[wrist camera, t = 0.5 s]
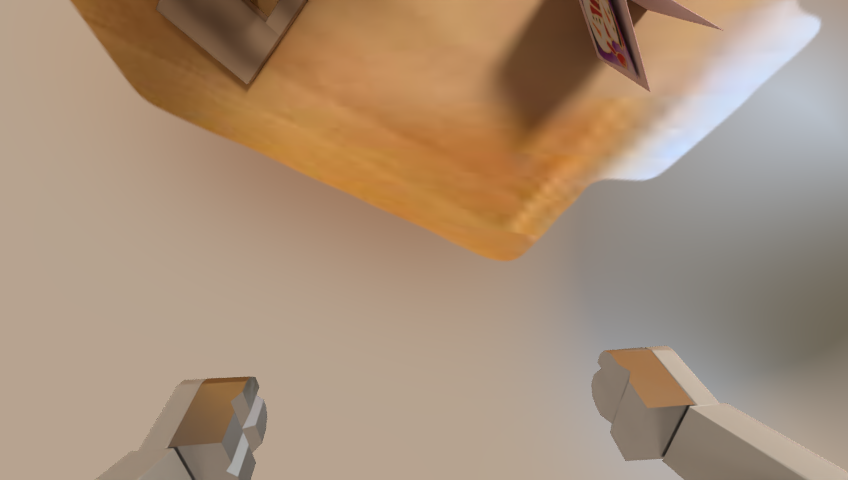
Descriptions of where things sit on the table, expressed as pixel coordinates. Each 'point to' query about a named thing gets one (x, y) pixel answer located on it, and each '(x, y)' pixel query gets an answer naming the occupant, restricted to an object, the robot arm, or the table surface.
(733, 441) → the robot arm
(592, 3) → the greeting card
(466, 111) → the table surface
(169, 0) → the wooden board with hole
